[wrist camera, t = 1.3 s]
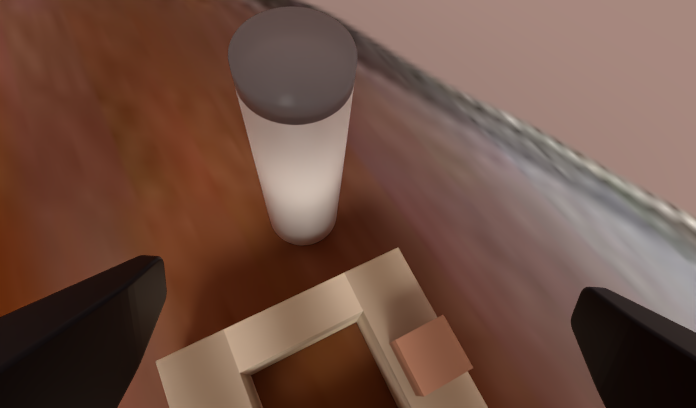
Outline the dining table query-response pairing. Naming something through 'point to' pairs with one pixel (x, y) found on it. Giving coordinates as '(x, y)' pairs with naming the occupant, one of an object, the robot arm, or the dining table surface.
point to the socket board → (322, 321)
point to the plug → (296, 113)
